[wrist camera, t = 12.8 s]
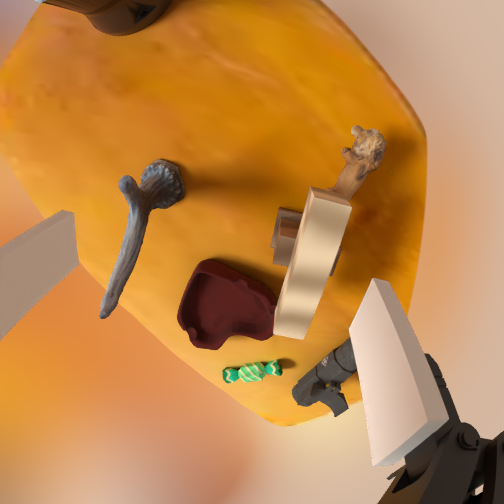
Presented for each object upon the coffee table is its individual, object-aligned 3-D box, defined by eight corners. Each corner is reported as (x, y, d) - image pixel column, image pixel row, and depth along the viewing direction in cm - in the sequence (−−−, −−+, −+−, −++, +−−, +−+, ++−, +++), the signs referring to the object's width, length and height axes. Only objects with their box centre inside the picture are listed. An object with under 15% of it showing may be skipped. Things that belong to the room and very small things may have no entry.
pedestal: (279, 207, 41) (277, 226, 34) (337, 221, 41) (347, 243, 34) (270, 244, 44) (267, 269, 37) (326, 256, 44) (333, 283, 37)
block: (310, 186, 31) (314, 197, 27) (343, 194, 31) (352, 207, 27) (275, 310, 39) (273, 334, 35) (302, 316, 39) (303, 339, 35)
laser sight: (385, 333, 50) (398, 370, 41) (316, 393, 59) (318, 428, 50) (350, 314, 48) (360, 353, 39) (282, 380, 58) (280, 416, 49)
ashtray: (255, 238, 44) (251, 252, 40) (288, 317, 50) (288, 336, 46) (162, 269, 49) (151, 284, 44) (203, 337, 55) (196, 354, 50)
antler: (136, 172, 41) (17, 231, 19) (175, 148, 39) (58, 189, 17) (169, 233, 45) (82, 333, 23) (210, 214, 43) (135, 317, 21)
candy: (276, 356, 53) (278, 376, 51) (280, 359, 56) (283, 377, 54) (222, 365, 56) (223, 383, 54) (228, 367, 59) (230, 384, 57)
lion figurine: (344, 119, 34) (360, 118, 26) (377, 136, 35) (400, 140, 27) (305, 210, 41) (309, 233, 33) (337, 224, 41) (348, 249, 33)
